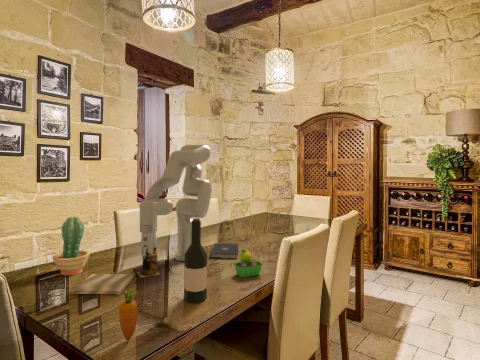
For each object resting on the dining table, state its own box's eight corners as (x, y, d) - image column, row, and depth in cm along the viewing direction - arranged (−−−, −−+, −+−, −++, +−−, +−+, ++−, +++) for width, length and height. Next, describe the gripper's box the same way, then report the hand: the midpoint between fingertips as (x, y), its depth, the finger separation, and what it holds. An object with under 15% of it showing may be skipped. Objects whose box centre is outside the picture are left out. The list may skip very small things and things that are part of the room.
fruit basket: (240, 279, 138) (241, 253, 137) (232, 272, 146) (232, 248, 145) (263, 275, 143) (263, 250, 142) (253, 269, 151) (253, 246, 150)
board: (133, 277, 138) (133, 274, 137) (119, 294, 120) (119, 290, 119) (92, 277, 137) (92, 273, 137) (71, 294, 119) (71, 290, 119)
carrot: (130, 334, 93) (130, 284, 92) (141, 339, 90) (141, 288, 89) (115, 341, 88) (115, 289, 88) (126, 348, 86) (126, 294, 85)
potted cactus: (98, 268, 148) (97, 215, 147) (70, 279, 134) (70, 221, 132) (72, 264, 153) (72, 213, 152) (43, 275, 139) (42, 218, 137)
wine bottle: (185, 293, 121) (185, 216, 120) (206, 293, 122) (207, 216, 120) (183, 303, 113) (183, 220, 111) (206, 303, 114) (207, 220, 112)
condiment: (160, 274, 142) (160, 248, 141) (141, 278, 137) (141, 250, 136) (154, 269, 148) (154, 244, 147) (136, 273, 143) (136, 247, 142)
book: (213, 248, 189) (213, 243, 189) (238, 248, 189) (238, 243, 188) (209, 259, 167) (210, 253, 167) (237, 259, 167) (237, 254, 167)
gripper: (152, 232, 133) (152, 274, 134) (160, 224, 150) (160, 261, 151) (134, 232, 133) (134, 273, 134) (145, 224, 150) (145, 261, 151)
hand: (148, 266), depth 143 cm, fingers closed on condiment, 6 cm apart
